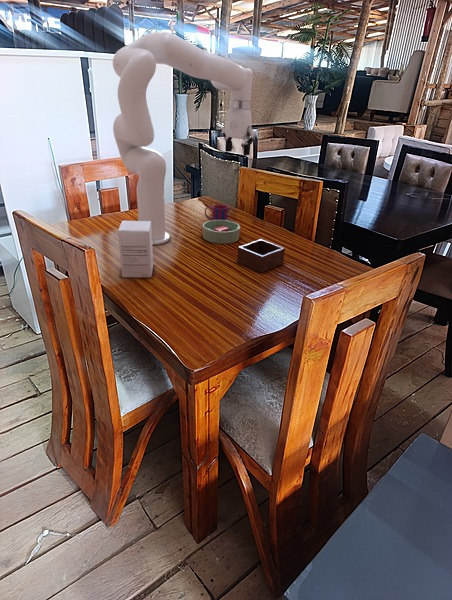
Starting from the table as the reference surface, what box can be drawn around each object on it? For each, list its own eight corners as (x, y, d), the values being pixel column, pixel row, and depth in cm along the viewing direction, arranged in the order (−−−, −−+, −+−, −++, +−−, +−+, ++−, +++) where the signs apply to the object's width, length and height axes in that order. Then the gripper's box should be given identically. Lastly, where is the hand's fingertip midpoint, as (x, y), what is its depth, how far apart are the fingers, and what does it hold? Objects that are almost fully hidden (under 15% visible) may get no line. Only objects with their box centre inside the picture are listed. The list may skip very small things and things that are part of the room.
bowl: (220, 246, 145) (221, 234, 143) (194, 235, 154) (195, 224, 152) (246, 238, 154) (247, 226, 152) (221, 228, 163) (221, 217, 161)
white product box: (125, 265, 127) (121, 219, 120) (153, 265, 128) (151, 220, 121) (121, 277, 119) (116, 230, 112) (151, 278, 120) (149, 230, 113)
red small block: (219, 238, 151) (219, 230, 150) (213, 235, 153) (213, 228, 152) (228, 235, 154) (229, 228, 153) (222, 233, 156) (222, 225, 155)
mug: (225, 225, 165) (226, 209, 162) (202, 222, 168) (202, 206, 164) (229, 221, 171) (230, 205, 168) (207, 218, 173) (207, 202, 170)
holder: (260, 273, 127) (262, 256, 124) (236, 262, 133) (237, 246, 131) (283, 263, 134) (285, 248, 132) (259, 254, 141) (260, 239, 138)
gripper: (217, 103, 153) (215, 150, 161) (250, 107, 143) (247, 157, 151) (230, 103, 158) (228, 149, 166) (264, 107, 148) (259, 155, 156)
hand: (237, 153), depth 159 cm, fingers open, 9 cm apart
